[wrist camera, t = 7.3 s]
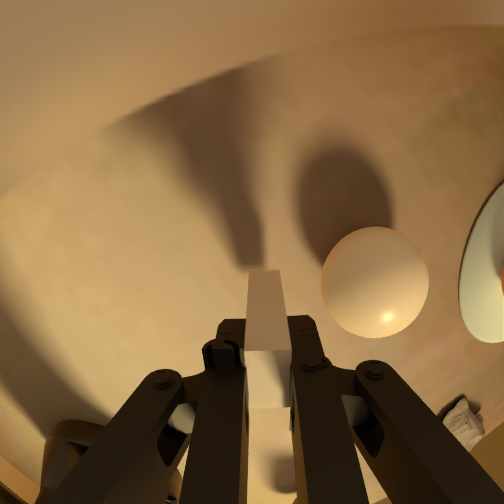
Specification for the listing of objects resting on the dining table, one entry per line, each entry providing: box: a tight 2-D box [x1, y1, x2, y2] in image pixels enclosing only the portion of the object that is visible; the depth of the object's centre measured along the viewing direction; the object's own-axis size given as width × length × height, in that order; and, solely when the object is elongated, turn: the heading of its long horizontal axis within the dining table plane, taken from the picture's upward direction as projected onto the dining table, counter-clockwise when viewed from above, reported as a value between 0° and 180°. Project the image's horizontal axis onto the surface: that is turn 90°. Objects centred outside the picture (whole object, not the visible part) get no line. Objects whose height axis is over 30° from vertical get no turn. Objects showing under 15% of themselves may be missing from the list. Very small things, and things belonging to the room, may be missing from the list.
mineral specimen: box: [442, 398, 485, 452], centre depth 22 cm, size 6×12×4 cm, turn 152°
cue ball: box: [321, 227, 429, 338], centre depth 15 cm, size 6×6×6 cm
